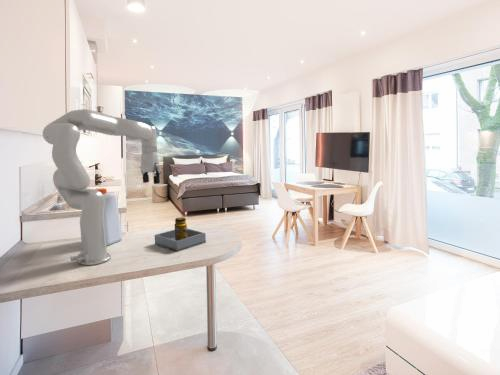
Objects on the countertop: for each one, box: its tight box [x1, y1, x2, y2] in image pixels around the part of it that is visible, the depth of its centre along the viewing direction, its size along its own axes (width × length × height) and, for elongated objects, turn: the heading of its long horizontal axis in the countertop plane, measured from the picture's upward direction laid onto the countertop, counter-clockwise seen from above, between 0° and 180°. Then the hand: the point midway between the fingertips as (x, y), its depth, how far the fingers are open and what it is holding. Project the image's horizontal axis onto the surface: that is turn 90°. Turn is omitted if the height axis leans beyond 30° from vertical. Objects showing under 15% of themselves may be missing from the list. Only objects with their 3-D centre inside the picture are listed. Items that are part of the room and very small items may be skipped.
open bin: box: [154, 228, 207, 253], centre depth 161 cm, size 18×18×5 cm
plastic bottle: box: [94, 187, 123, 247], centre depth 163 cm, size 15×15×28 cm
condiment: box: [174, 216, 188, 241], centre depth 160 cm, size 7×8×12 cm
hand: (151, 183), depth 165 cm, fingers open, 9 cm apart
